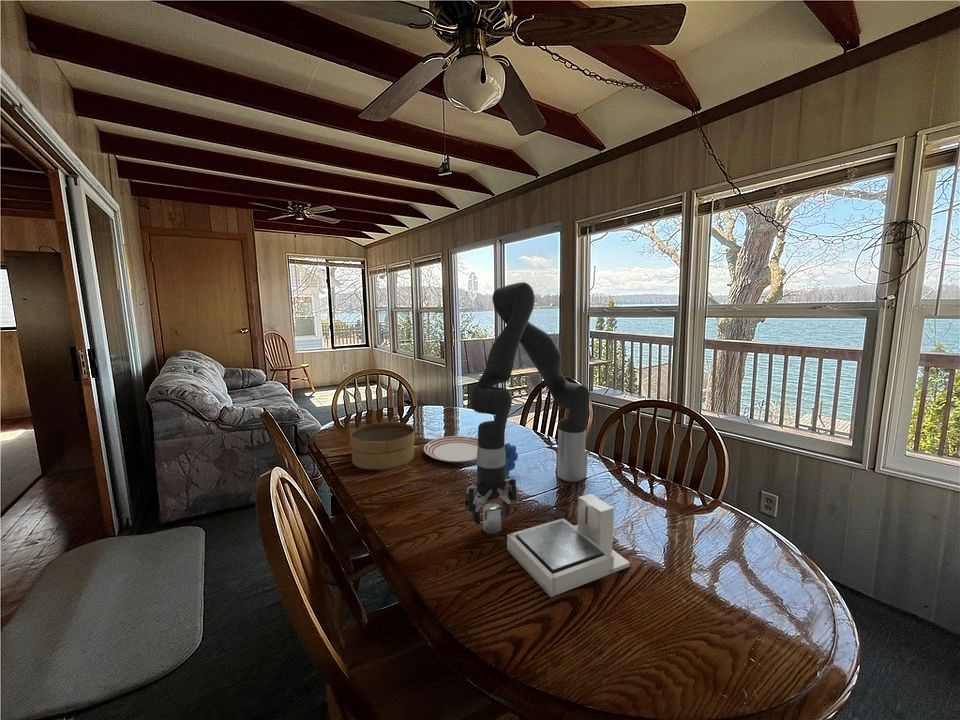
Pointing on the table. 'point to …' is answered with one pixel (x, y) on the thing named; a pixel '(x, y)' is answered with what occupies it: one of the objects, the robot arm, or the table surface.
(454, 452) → the dinner plate
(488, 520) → the cylinder
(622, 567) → the scale
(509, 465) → the grapes
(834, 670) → the table surface
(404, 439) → the steamer basket
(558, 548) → the scale pan
